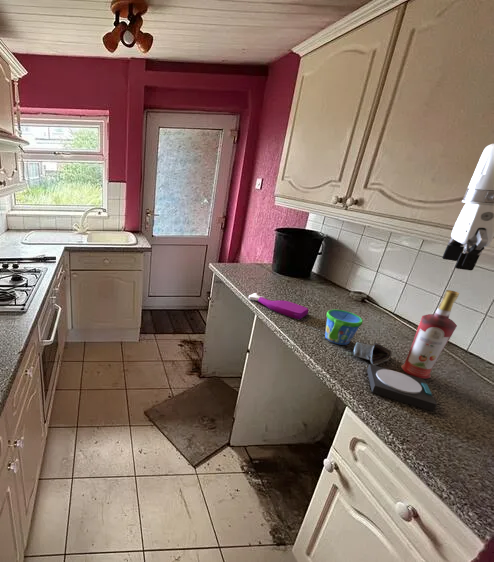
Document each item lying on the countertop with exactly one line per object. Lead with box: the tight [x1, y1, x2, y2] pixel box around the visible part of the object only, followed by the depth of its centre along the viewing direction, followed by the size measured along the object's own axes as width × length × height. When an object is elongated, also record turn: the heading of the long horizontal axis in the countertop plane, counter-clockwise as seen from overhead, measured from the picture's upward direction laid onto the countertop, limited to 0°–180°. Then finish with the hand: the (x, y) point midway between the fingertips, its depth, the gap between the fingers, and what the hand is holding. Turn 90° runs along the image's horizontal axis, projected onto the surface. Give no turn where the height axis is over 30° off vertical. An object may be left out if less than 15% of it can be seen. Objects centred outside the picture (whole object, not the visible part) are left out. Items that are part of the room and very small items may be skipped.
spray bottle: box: [248, 292, 309, 320], centre depth 139 cm, size 3×11×24 cm
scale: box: [366, 363, 437, 413], centre depth 89 cm, size 13×12×3 cm
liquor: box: [400, 289, 460, 380], centre depth 91 cm, size 7×7×28 cm
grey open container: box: [353, 341, 393, 366], centre depth 104 cm, size 10×7×12 cm
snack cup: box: [324, 308, 364, 346], centre depth 112 cm, size 16×11×10 cm
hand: (456, 264), depth 82 cm, fingers open, 9 cm apart
